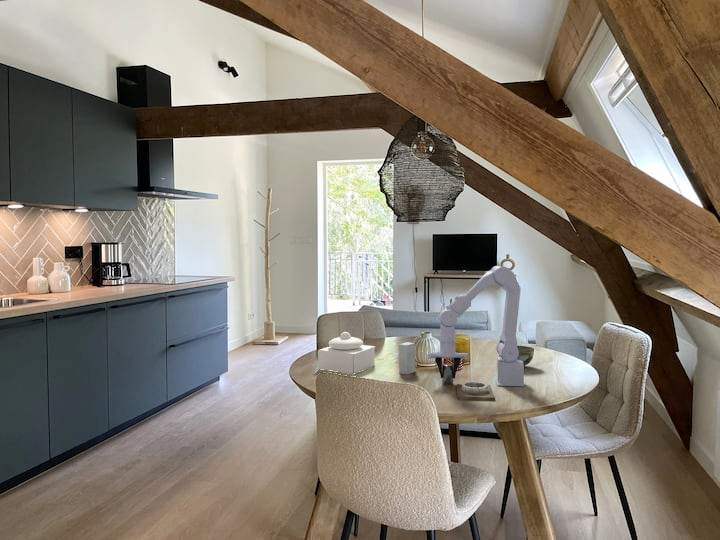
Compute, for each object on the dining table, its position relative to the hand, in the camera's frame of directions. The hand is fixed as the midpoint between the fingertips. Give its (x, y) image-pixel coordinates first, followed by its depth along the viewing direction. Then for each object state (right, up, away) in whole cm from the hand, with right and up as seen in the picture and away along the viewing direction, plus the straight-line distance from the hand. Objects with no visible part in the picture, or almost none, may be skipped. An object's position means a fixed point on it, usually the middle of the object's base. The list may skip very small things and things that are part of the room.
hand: (447, 377), depth 201 cm
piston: (0, -2, 0) cm, 2 cm away
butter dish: (-38, -2, +27) cm, 47 cm away
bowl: (+34, -1, +26) cm, 42 cm away
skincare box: (-14, -2, +18) cm, 23 cm away
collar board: (+7, -3, -13) cm, 15 cm away
